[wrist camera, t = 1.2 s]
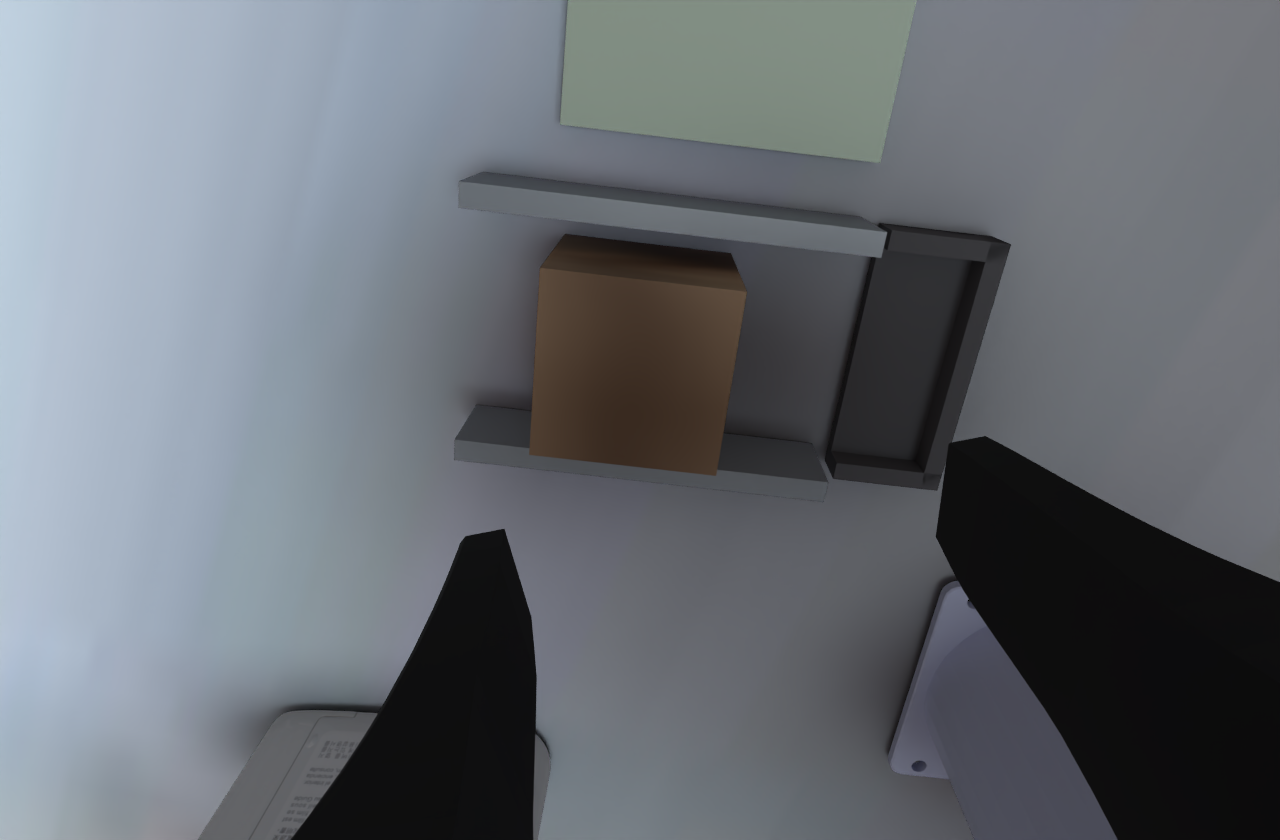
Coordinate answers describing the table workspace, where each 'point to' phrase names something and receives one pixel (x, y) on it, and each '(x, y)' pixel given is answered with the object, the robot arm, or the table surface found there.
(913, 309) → the tray
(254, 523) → the table surface
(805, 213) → the channel
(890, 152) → the table surface
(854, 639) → the table surface
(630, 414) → the block
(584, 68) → the coaster
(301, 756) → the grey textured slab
